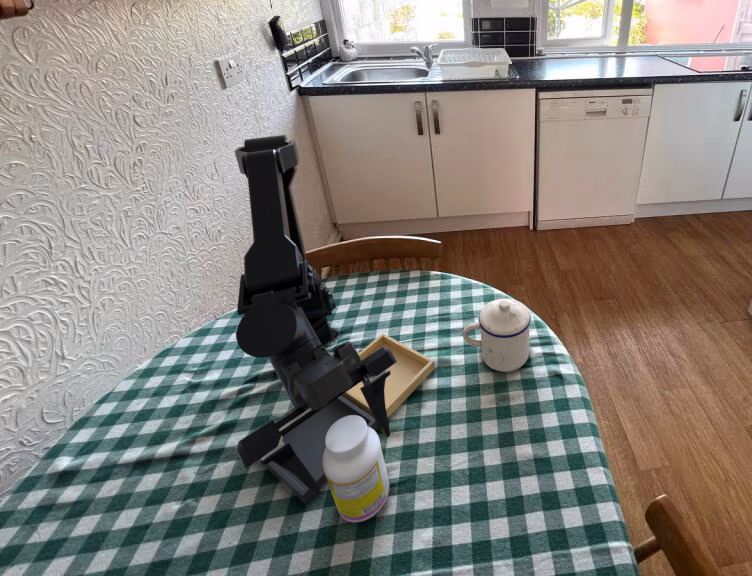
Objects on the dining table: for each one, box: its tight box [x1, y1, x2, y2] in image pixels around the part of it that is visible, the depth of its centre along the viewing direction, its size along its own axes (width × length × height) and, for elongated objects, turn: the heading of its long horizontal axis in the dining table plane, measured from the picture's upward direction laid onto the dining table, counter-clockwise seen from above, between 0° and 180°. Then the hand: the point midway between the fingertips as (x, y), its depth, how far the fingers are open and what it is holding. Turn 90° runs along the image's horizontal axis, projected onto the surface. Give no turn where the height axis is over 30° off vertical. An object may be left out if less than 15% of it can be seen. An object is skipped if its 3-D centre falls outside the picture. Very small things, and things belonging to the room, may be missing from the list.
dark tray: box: [264, 396, 379, 505], centre depth 61 cm, size 13×12×2 cm
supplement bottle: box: [322, 415, 390, 523], centre depth 51 cm, size 7×7×13 cm
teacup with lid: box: [462, 298, 532, 373], centre depth 73 cm, size 12×9×12 cm
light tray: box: [341, 332, 436, 419], centre depth 71 cm, size 13×12×2 cm
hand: (355, 463), depth 51 cm, fingers open, 9 cm apart
